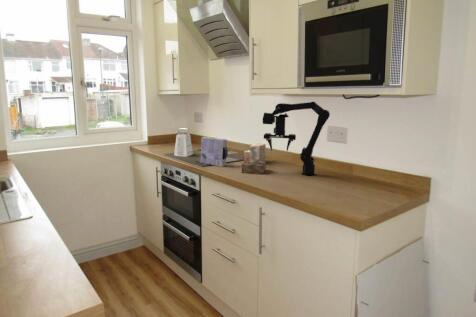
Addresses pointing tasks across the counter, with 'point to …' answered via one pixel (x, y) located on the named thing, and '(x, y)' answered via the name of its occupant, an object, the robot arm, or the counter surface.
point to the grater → (183, 144)
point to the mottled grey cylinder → (254, 155)
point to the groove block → (253, 167)
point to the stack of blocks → (261, 153)
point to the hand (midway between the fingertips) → (279, 150)
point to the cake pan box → (214, 151)
